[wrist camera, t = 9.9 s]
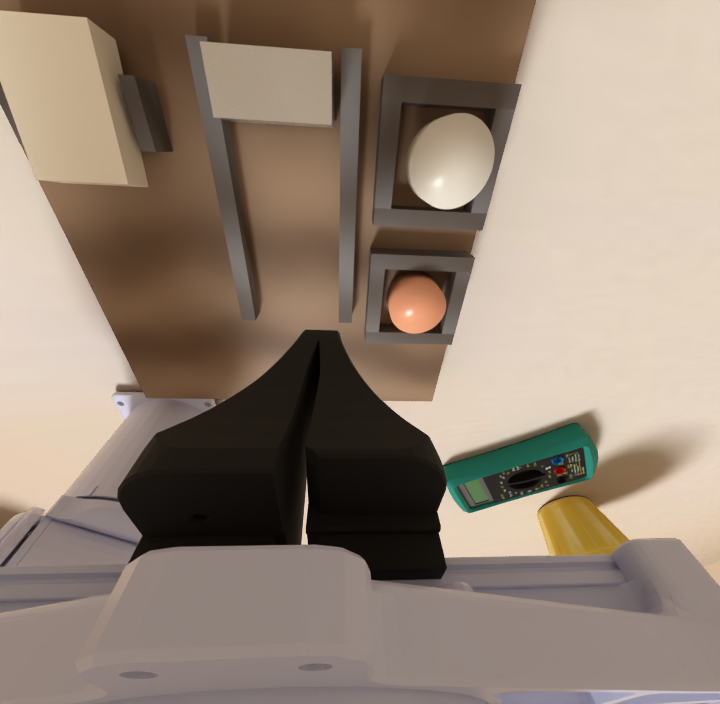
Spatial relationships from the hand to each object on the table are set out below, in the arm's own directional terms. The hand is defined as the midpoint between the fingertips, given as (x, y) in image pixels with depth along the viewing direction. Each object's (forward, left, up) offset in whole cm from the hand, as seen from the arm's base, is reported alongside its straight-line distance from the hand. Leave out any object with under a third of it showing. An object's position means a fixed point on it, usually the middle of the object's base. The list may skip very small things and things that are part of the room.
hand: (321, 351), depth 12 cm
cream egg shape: (+6, -5, -6) cm, 10 cm away
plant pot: (-31, -30, -10) cm, 44 cm away
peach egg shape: (-1, -5, -7) cm, 9 cm away
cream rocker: (+7, +10, -6) cm, 14 cm away
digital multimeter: (-21, -20, -10) cm, 30 cm away
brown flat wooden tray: (+1, +3, -9) cm, 10 cm away
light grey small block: (+8, +2, -7) cm, 11 cm away
